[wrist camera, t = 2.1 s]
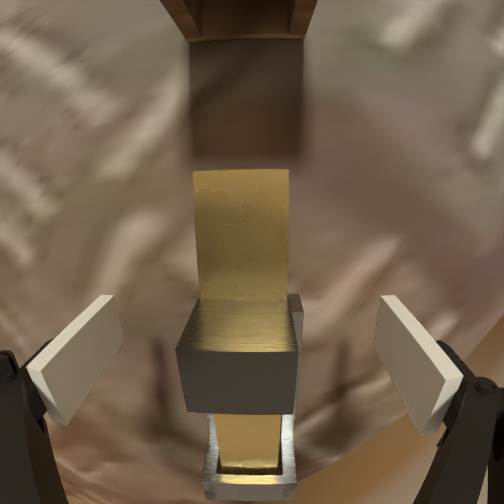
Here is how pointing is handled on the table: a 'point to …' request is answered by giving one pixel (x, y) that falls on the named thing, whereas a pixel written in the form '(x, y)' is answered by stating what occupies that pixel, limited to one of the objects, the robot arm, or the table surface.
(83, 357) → the robot arm
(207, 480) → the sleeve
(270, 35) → the socket
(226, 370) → the tan wooden bar
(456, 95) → the table surface
